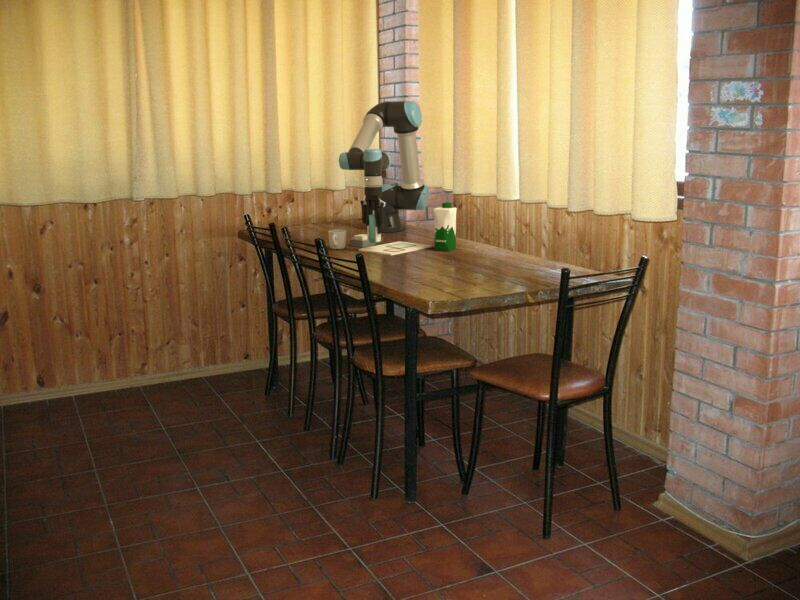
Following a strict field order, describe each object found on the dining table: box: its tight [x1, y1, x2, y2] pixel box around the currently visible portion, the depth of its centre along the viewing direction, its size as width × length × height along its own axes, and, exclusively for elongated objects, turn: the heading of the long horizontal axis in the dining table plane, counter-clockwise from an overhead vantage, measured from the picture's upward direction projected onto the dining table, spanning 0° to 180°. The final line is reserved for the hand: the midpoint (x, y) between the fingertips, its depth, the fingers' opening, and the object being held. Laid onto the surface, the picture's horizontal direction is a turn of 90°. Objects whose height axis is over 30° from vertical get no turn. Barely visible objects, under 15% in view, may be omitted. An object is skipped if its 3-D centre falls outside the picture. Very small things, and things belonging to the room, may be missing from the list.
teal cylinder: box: [369, 213, 380, 244], centre depth 373 cm, size 4×4×12 cm
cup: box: [327, 228, 347, 250], centre depth 380 cm, size 11×8×8 cm
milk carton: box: [433, 201, 458, 252], centre depth 374 cm, size 9×9×20 cm
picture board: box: [358, 241, 432, 256], centre depth 379 cm, size 26×19×1 cm
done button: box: [353, 233, 367, 240], centre depth 389 cm, size 5×5×3 cm
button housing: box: [349, 237, 376, 248], centre depth 389 cm, size 8×8×3 cm
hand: (374, 240), depth 374 cm, fingers closed on teal cylinder, 4 cm apart
